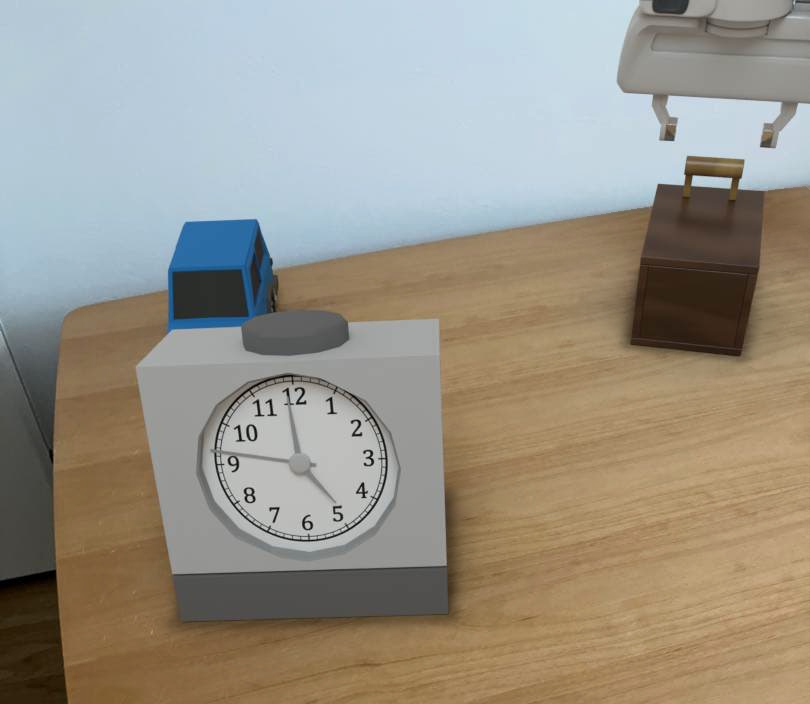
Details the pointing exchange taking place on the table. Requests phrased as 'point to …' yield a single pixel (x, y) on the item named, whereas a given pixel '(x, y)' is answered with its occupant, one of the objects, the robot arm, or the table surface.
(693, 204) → the lid
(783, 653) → the table surface
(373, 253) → the table surface
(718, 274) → the chest
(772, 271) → the table surface
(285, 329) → the alarm clock
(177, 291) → the toy car
